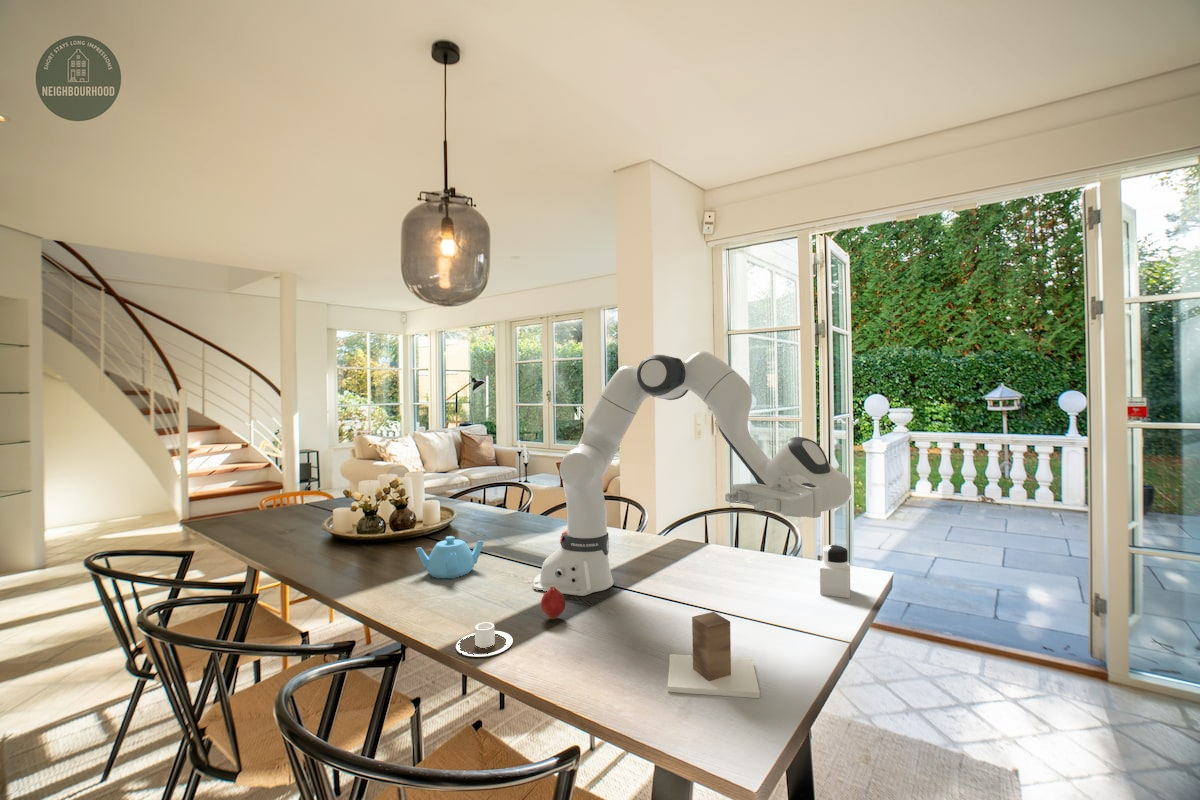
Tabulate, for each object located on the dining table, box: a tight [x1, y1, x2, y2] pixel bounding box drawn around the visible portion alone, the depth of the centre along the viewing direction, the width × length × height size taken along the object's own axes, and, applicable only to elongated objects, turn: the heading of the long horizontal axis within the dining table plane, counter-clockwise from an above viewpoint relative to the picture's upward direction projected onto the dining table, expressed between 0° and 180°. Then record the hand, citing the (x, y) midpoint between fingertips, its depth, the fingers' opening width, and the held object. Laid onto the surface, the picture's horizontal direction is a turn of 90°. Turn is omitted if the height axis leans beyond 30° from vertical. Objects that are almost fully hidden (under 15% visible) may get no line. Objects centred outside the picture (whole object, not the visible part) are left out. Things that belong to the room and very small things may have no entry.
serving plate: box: [667, 653, 761, 699], centre depth 102 cm, size 16×12×1 cm
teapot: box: [415, 535, 485, 579], centre depth 165 cm, size 15×15×11 cm
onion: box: [540, 586, 566, 620], centre depth 130 cm, size 6×6×8 cm
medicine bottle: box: [819, 544, 851, 599], centre depth 143 cm, size 7×7×12 cm
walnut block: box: [691, 611, 732, 681], centre depth 102 cm, size 5×5×10 cm
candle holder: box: [455, 621, 514, 658], centre depth 117 cm, size 12×12×4 cm
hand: (741, 502), depth 116 cm, fingers open, 8 cm apart
